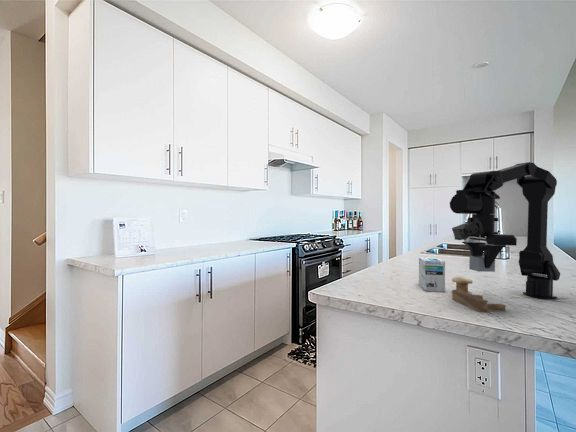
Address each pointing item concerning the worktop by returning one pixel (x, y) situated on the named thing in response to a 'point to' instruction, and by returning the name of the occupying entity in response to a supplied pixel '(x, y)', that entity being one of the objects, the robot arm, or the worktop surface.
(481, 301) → the notched board
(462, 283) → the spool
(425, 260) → the light bulb box
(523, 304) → the worktop surface
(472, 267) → the blue-grey block
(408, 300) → the worktop surface
